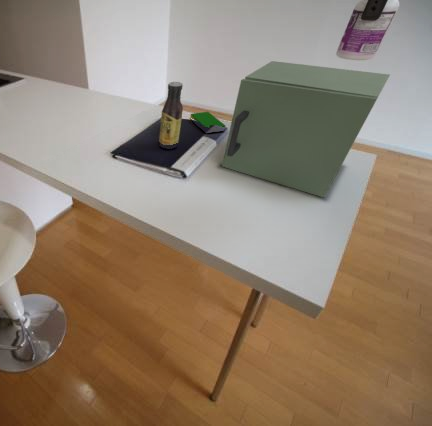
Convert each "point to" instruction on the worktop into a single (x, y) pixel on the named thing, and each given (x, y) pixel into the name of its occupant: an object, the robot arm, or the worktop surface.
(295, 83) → the cupboard
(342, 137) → the cupboard door
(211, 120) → the dish sponge
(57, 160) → the worktop surface
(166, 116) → the sauce bottle
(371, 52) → the pill bottle
